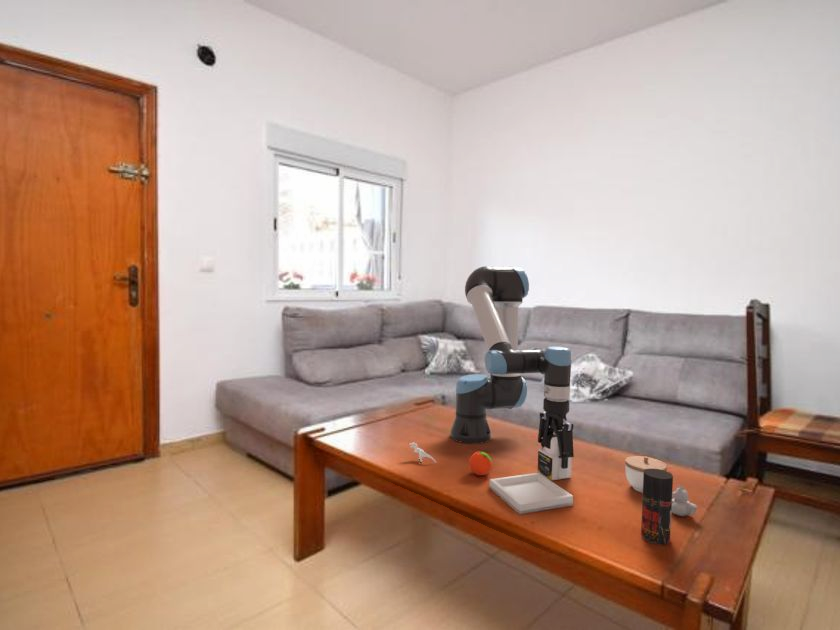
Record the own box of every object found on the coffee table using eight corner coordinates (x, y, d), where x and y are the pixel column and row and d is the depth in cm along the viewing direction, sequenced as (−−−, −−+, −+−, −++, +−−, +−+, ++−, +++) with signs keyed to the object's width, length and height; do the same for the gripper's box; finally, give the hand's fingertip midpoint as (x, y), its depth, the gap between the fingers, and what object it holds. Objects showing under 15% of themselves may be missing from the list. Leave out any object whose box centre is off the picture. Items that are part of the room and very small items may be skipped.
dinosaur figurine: (448, 471, 150) (452, 451, 149) (424, 477, 141) (427, 457, 140) (415, 454, 160) (419, 436, 160) (390, 459, 151) (394, 440, 151)
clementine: (499, 475, 140) (499, 452, 139) (485, 482, 135) (485, 458, 134) (478, 468, 145) (478, 445, 145) (464, 474, 140) (464, 451, 140)
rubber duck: (673, 507, 120) (675, 477, 120) (701, 517, 115) (702, 486, 115) (663, 513, 117) (664, 482, 117) (691, 524, 112) (692, 492, 111)
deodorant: (638, 529, 109) (641, 467, 108) (666, 533, 108) (669, 470, 107) (643, 542, 104) (646, 476, 103) (672, 546, 102) (675, 480, 101)
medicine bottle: (537, 471, 142) (538, 433, 142) (556, 468, 145) (557, 431, 144) (551, 481, 136) (552, 441, 135) (571, 477, 138) (572, 438, 138)
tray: (489, 487, 131) (489, 479, 131) (538, 480, 136) (538, 472, 136) (519, 514, 116) (519, 504, 116) (572, 505, 121) (573, 495, 121)
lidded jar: (649, 480, 138) (650, 449, 137) (674, 496, 127) (676, 463, 126) (616, 482, 136) (617, 451, 135) (639, 499, 125) (641, 465, 125)
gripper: (527, 391, 147) (525, 462, 149) (567, 408, 128) (564, 488, 130) (547, 390, 150) (545, 459, 151) (589, 406, 131) (586, 484, 132)
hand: (553, 472), depth 140 cm, fingers closed on medicine bottle, 7 cm apart
